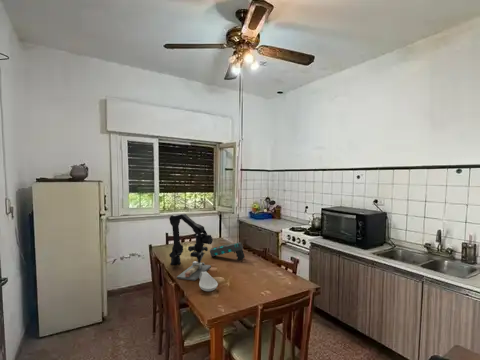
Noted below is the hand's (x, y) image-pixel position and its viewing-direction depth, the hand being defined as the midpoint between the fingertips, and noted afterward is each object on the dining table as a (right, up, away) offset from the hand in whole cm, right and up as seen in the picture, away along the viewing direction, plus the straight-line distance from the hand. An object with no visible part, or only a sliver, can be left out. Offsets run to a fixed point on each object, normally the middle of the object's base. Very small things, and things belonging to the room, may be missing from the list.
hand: (199, 262), depth 201 cm
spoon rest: (+9, -6, -30) cm, 32 cm away
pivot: (+1, -3, +4) cm, 5 cm away
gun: (+20, -5, +27) cm, 34 cm away
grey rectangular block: (-1, -3, -4) cm, 5 cm away
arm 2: (-2, -3, -10) cm, 10 cm away
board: (-2, -5, -7) cm, 9 cm away
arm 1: (-3, -3, -9) cm, 10 cm away
